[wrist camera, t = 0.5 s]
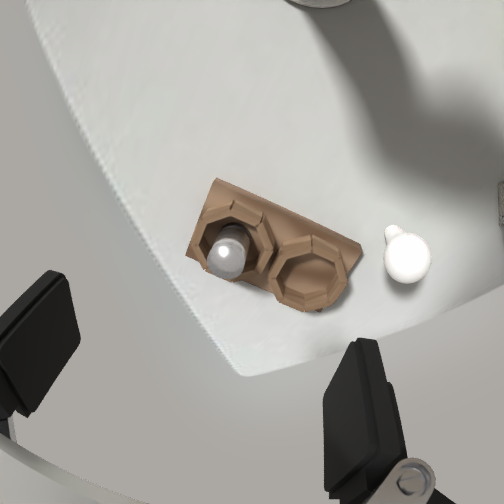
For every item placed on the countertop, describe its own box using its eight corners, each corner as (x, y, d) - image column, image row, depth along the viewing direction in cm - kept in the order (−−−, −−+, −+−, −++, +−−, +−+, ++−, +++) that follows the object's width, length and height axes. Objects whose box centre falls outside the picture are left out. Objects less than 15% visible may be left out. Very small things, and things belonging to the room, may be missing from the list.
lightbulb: (366, 218, 42) (385, 258, 32) (405, 204, 40) (435, 240, 31) (376, 254, 44) (395, 300, 35) (414, 241, 43) (441, 283, 33)
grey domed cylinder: (225, 217, 42) (214, 240, 36) (256, 230, 43) (249, 256, 36) (214, 243, 44) (202, 270, 38) (243, 256, 45) (235, 284, 39)
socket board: (216, 177, 42) (207, 189, 37) (360, 244, 44) (366, 262, 39) (189, 248, 48) (178, 266, 43) (319, 304, 50) (321, 325, 45)
